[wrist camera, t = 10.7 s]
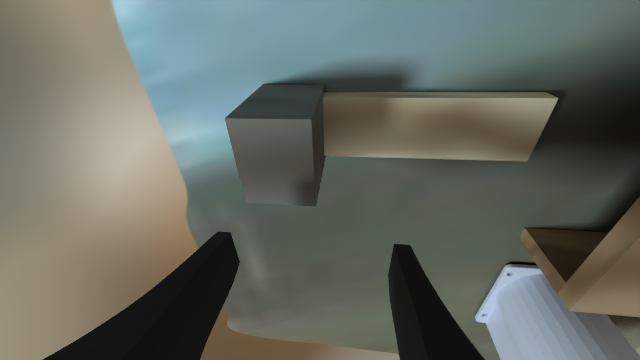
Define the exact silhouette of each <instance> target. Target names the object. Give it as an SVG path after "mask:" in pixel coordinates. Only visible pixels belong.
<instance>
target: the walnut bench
mask: <svg viewBox="0 0 640 360" xmlns="http://www.w3.org/2000/svg"><path fill="white" fill-rule="evenodd" d="M519 240H520V241H521V242H522V244H523V245H524V247H525V248H526V250H527V251H528V253H529V254H530V255H531V257H532V258H533V260H534V261H535V263H536V264H537V266H538V267H539V269H540V270H541V271H542V273H543V274H544V276H545V277H546V279H547V280H548V282H549V283H550V285H551V286H552V287H553V289H554V290H555V292H556V293H557V295H558V296H559V298H560V299H561V301H562V302H563V303H564V305H565V306H566V308H567V309H568V311H573V312H585V313H597V314H608V315H620V316H632V317H640V197H639V198H638V199H637V200H636V201H635V203H634V204H633V205H632V206H631V207H630V208H629V210H628V211H627V212H626V213H625V214H624V216H623V217H622V218H621V219H620V220H619V221H618V223H617V224H616V225H615V226H614V227H613V228H612V230H611V231H610V232H592V231H573V230H555V229H536V228H524V230H523V231H522V233H521V235H520V237H519Z"/></svg>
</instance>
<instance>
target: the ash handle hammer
mask: <svg viewBox="0 0 640 360" xmlns="http://www.w3.org/2000/svg"><path fill="white" fill-rule="evenodd" d="M557 100H558V98H557V97H555V96H553V95H551V94H549V93H546V92H325V84H263V85H262V86H261V87H260V88H258V89H257V90H256V91H255V92H254V93H253V94H252V95H251V96H249V97H248V98H247V99H246V100H245V101H244V102H243V103H242V104H240V105H239V106H238V107H237V108H236V109H235V110H234V111H233V112H231V113H230V114H229V115H228V116H227V117H226V118H225V121H226V125H227V129H228V133H229V137H230V141H231V145H232V149H233V153H234V157H235V161H236V165H237V169H238V173H239V177H240V181H241V185H242V189H243V193H244V197H245V201H246V203H260V204H280V205H300V206H316V203H317V198H318V193H319V188H320V182H321V177H322V172H323V167H324V162H325V157H326V156H351V157H388V158H424V159H460V160H497V161H528V160H529V158H530V155H531V153H532V151H533V149H534V147H535V145H536V143H537V141H538V139H539V137H540V135H541V133H542V131H543V129H544V127H545V125H546V123H547V121H548V119H549V117H550V115H551V113H552V111H553V109H554V107H555V105H556V102H557Z"/></svg>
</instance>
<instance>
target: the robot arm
mask: <svg viewBox="0 0 640 360" xmlns="http://www.w3.org/2000/svg"><path fill="white" fill-rule="evenodd" d="M239 263H240V261H239V258H238V255H237V252H236V249H235V245H234V242H233V239H232V236H231V233H230V232H217V233H216V234H214V235H213V236H212V237H211V238H210V239H209V240H208V241H207V242H206V243H204V244H203V245H202V246H201V247H200V248H199V249H198V250H197V251H196V252H195V253H193V255H191V256H190V257H189V258H188V259H187V260H186V261H185V262H183V264H181V265H180V266H179V267H178V268H177V269H175V270H174V271H173V272H172V273H171V274H170V275H168V276H167V277H166V278H165V279H163V280H162V281H161V282H160V283H159V284H157V285H156V286H155V287H154V288H152V289H151V290H150V291H149V292H147V293H146V294H145V295H144V296H142V297H141V298H139V299H138V300H137V301H135V302H134V303H133V304H131V305H130V306H129V307H127V308H126V309H124V310H123V311H121V312H120V313H118V314H117V315H115V316H114V317H112V318H111V319H109V320H108V321H106V322H105V323H103V324H101V325H100V326H98V327H97V328H96V329H94V330H92V331H91V332H89V333H88V334H86V335H84V336H83V337H81V338H79V339H78V340H76V341H74V342H73V343H71V344H69V345H68V346H66V347H64V348H62V349H61V350H59V351H57V352H55V353H54V354H52V355H50V356H48V357H46V358H45V359H43V360H200V358H201V355H202V352H203V350H204V347H205V344H206V342H207V340H208V337H209V335H210V332H211V330H212V328H213V326H214V324H215V322H216V319H217V317H218V315H219V313H220V311H221V309H222V307H223V304H224V302H225V300H226V298H227V296H228V293H229V291H230V289H231V287H232V284H233V282H234V279H235V276H236V273H237V269H238V266H239ZM388 278H389V294H390V303H391V309H392V315H393V321H394V327H395V333H396V338H397V344H398V350H399V356H400V360H485V359H484V358H483V357H482V355H481V354H480V353H479V352H478V351H477V349H476V348H475V347H474V345H473V344H472V343H471V341H470V340H469V339H468V338H467V336H466V335H465V334H464V332H463V331H462V330H461V328H460V327H459V325H458V324H457V323H456V321H455V320H454V318H453V317H452V315H451V314H450V312H449V311H448V310H447V308H446V307H445V305H444V304H443V302H442V300H441V299H440V297H439V296H438V294H437V293H436V291H435V289H434V288H433V286H432V284H431V283H430V281H429V279H428V278H427V276H426V274H425V272H424V271H423V269H422V267H421V265H420V263H419V261H418V260H417V258H416V256H415V254H414V252H413V249H412V247H411V246H410V245H401V244H394V248H393V253H392V258H391V263H390V268H389V273H388ZM475 318H476V321H478V322H483V323H486V325H487V327H488V329H489V332H490V334H491V337H492V339H493V342H494V344H495V347H496V349H497V352H498V354H499V357H500V359H501V360H640V356H639V354H638V353H637V352H636V350H635V349H634V348H633V347H632V345H631V344H630V343H629V342H628V340H627V339H626V338H625V337H624V335H623V334H622V333H621V332H620V330H619V329H618V328H617V327H616V325H615V324H614V323H613V322H612V320H611V319H610V318H609V317H608V315H607V314H597V313H585V312H573V311H568V309H567V308H566V306H565V305H564V303H563V302H562V301H561V299H560V298H559V296H558V295H557V293H556V292H555V290H554V289H553V287H552V286H551V285H550V283H549V282H548V280H547V279H546V277H545V276H544V274H543V273H542V271H541V270H540V269H539V267H538V266H534V265H520V264H508V265H506V266H505V267H504V269H503V270H502V272H501V274H500V275H499V277H498V279H497V280H496V282H495V284H494V285H493V287H492V289H491V291H490V292H489V294H488V296H487V297H486V299H485V301H484V302H483V304H482V306H481V307H480V309H479V311H478V313H477V314H476V316H475Z"/></svg>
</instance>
